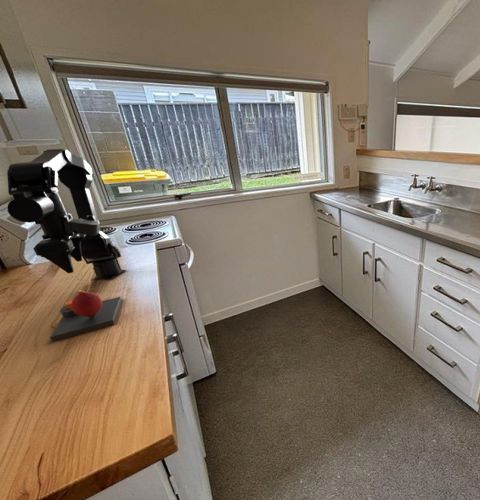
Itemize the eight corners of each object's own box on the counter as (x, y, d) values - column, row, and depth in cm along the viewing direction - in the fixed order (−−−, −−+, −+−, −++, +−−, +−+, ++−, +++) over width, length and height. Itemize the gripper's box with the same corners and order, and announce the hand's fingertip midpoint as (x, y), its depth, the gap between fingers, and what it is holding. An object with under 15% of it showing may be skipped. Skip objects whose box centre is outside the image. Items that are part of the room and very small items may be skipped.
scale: (68, 313, 79) (63, 304, 78) (122, 300, 84) (119, 291, 83) (50, 342, 67) (44, 332, 66) (114, 324, 73) (110, 314, 72)
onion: (103, 307, 78) (92, 282, 75) (109, 315, 74) (97, 288, 72) (75, 318, 74) (63, 291, 71) (80, 326, 70) (66, 298, 67)
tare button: (69, 306, 77) (67, 300, 77) (82, 303, 79) (80, 297, 78) (66, 311, 75) (63, 305, 74) (80, 307, 76) (77, 302, 76)
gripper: (81, 215, 70) (105, 271, 76) (97, 202, 85) (116, 250, 91) (19, 223, 65) (49, 283, 71) (47, 208, 80) (70, 258, 86)
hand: (75, 266), depth 80 cm, fingers open, 9 cm apart
